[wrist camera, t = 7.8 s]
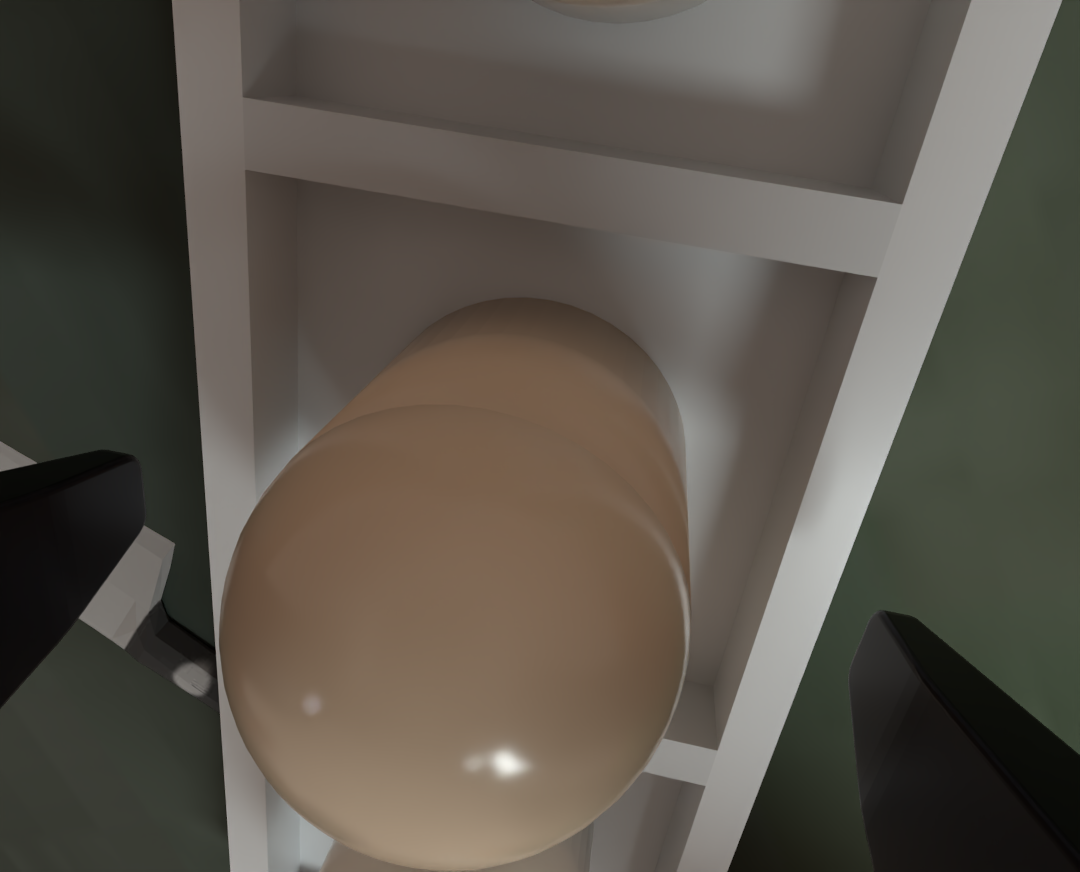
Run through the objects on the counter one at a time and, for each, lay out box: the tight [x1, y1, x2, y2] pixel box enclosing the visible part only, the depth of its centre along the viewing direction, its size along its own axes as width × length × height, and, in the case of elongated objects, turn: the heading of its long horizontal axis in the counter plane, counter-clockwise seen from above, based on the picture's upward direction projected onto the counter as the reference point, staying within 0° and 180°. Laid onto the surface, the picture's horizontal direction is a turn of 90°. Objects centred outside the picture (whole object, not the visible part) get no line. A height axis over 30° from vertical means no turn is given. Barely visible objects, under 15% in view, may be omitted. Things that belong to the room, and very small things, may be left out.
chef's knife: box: [0, 442, 220, 713], centre depth 15 cm, size 19×1×3 cm
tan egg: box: [219, 297, 691, 871], centre depth 9 cm, size 5×5×6 cm
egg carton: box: [172, 0, 1062, 872], centre depth 11 cm, size 9×26×2 cm, turn 172°
